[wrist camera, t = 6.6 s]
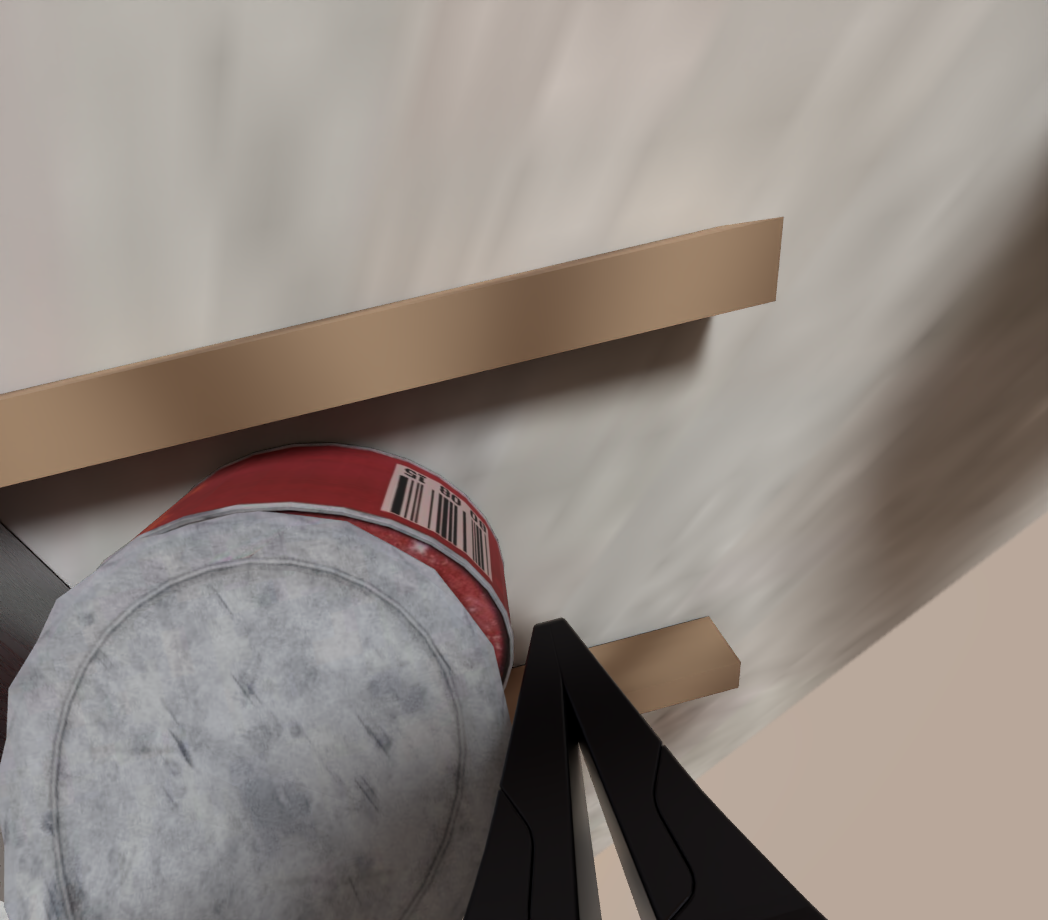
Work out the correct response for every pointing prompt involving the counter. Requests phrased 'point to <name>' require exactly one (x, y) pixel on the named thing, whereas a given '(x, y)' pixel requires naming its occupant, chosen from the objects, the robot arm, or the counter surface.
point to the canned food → (268, 705)
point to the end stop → (20, 622)
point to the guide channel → (412, 361)
